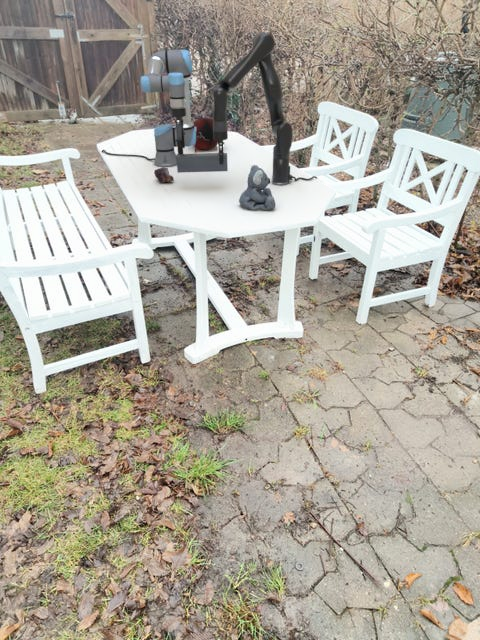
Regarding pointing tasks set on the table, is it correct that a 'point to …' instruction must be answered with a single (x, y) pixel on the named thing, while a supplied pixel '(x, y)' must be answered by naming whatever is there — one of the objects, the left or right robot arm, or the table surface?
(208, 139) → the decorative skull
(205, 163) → the bar
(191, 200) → the table surface
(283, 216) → the table surface
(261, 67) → the right robot arm
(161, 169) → the rock
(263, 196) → the koala plush
